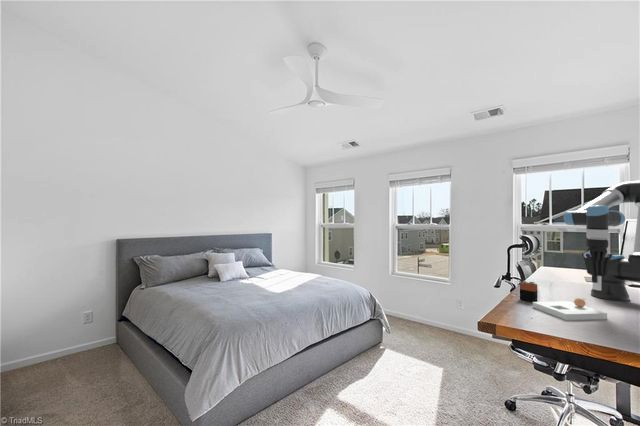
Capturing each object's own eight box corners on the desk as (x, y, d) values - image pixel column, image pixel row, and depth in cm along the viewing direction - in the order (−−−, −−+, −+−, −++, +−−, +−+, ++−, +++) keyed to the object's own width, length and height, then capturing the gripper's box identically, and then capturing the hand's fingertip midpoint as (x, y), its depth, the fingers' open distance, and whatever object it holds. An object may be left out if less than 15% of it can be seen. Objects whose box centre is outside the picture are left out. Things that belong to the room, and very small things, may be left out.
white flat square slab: (568, 306, 146) (568, 301, 146) (607, 319, 128) (607, 313, 128) (532, 307, 144) (532, 302, 144) (566, 320, 126) (566, 314, 126)
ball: (579, 305, 139) (579, 297, 139) (587, 308, 135) (587, 299, 135) (571, 305, 138) (571, 297, 138) (579, 308, 134) (579, 299, 134)
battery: (534, 302, 152) (534, 283, 152) (519, 299, 157) (519, 280, 157) (537, 301, 154) (537, 282, 154) (522, 298, 160) (522, 279, 160)
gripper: (601, 238, 142) (601, 287, 141) (576, 238, 141) (576, 287, 140) (618, 239, 134) (618, 291, 134) (592, 239, 133) (592, 291, 133)
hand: (596, 289), depth 137 cm, fingers closed
